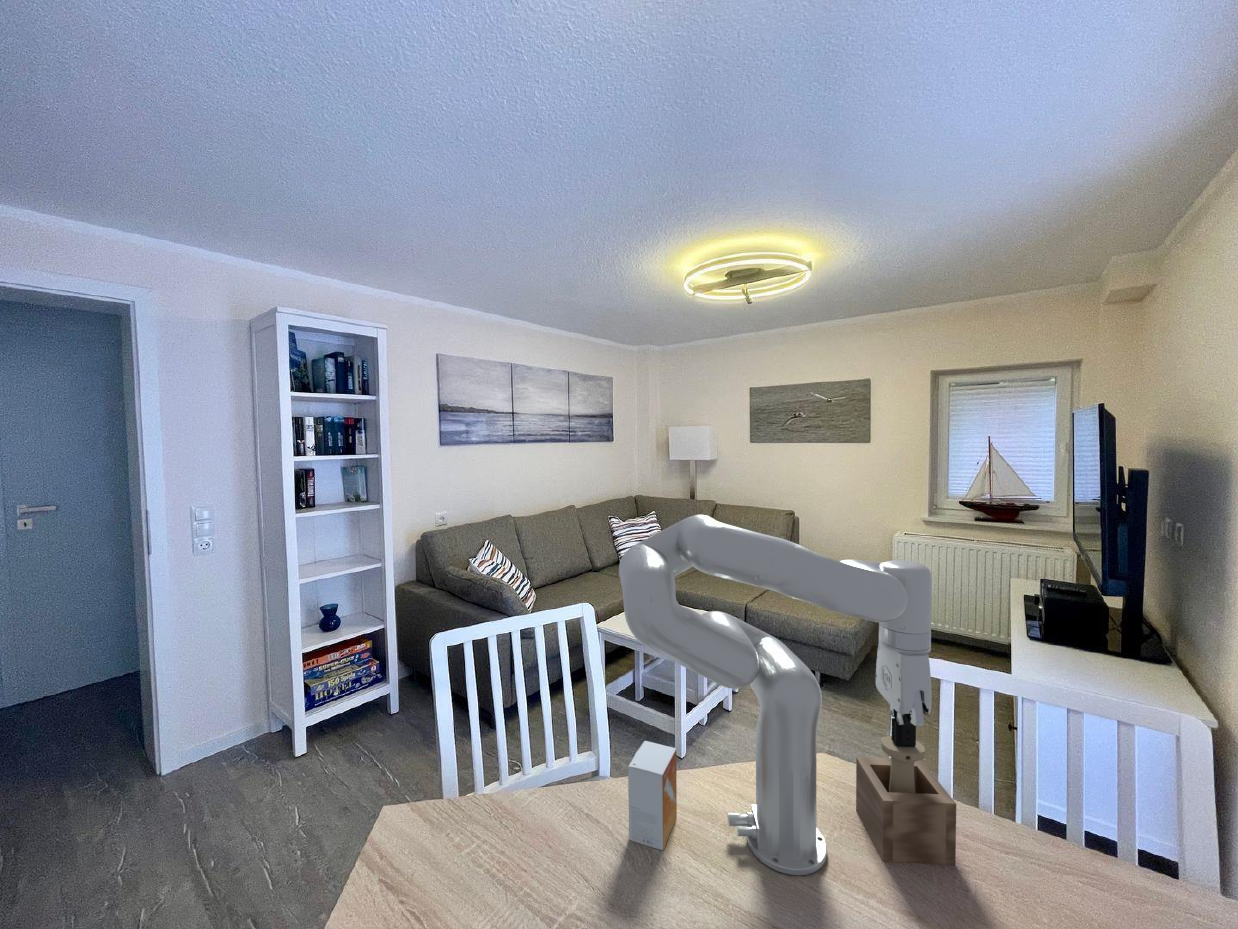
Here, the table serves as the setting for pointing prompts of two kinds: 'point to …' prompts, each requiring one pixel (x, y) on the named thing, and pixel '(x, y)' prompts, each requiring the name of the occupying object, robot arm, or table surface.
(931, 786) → the sleeve
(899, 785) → the handle
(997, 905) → the table surface
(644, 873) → the table surface
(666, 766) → the small box
